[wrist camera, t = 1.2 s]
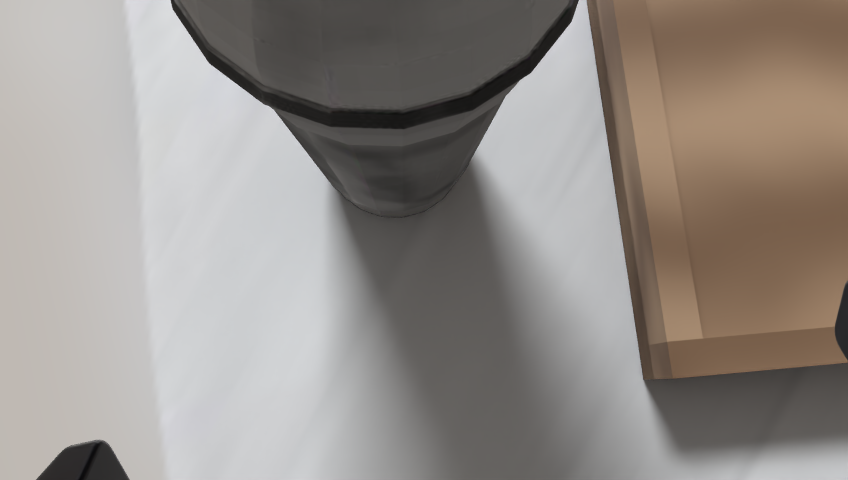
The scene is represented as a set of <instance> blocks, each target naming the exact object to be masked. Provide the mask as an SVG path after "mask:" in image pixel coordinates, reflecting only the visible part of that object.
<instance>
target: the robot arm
mask: <svg viewBox="0 0 848 480" xmlns="http://www.w3.org/2000/svg"><path fill="white" fill-rule="evenodd" d="M834 329H835V337H836V341H837V343H838V346H839V347H840V349H841V351H842V353H843V354H844V356H845V357H846V359H847V361H848V281H847V282H846V283H845V286H844V289H843V293H842V297H841V301H840V306H839V310H838V314H837V318H836V322H835V327H834ZM36 480H129V478H128V476H127V474H126V473H125V471H124V469H123V467H122V466H121V464H120V462H119V461H118V459H117V457H116V455H115V454H114V452H113V450H112V448H111V447H110V446H109V444H108V443H107V442H105V441H103V440H94V441H90V442H85V443H80V444H76V445H71V446H69V447H67V448H65V449H64V450H63V451H62V452H61V453H60V454H59V455H58V456H57V457H56V458H55V459H54V460H53V461H52V463H51V464H50V465H49V466H48V467H47V468H46V469H45V471H44V472H43V473H42V474H41V475H40V476H39V477H38V478H37V479H36Z"/></svg>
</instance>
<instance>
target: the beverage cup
mask: <svg viewBox="0 0 848 480" xmlns="http://www.w3.org/2000/svg"><path fill="white" fill-rule="evenodd" d="M578 1H579V0H171V4H172V8H173V10H174V12H175V13H176V15H177V16H178V18H179V19H180V21H181V22H182V24H183V25H184V27H185V28H186V30H187V31H188V32H189V34H190V35H191V37H192V38H193V40H194V41H195V43H196V44H197V46H198V47H199V49H200V50H201V52H202V53H203V55H204V56H205V58H206V59H207V61H208V62H209V63H210V64H211V65H212V66H214V67H215V68H216V69H218V70H219V71H220V72H222V73H223V74H224V75H226V76H227V77H228V78H230V79H231V80H232V81H234V82H235V83H236V84H238V85H239V86H240V87H242V88H243V89H244V90H246V91H247V92H248V93H250V94H251V95H252V96H254V97H255V98H256V99H258V100H259V101H260V102H262V103H263V104H265V105H268V106H270V107H271V108H272V109H274V110H275V112H276V113H277V114H278V116H279V117H280V118H281V119H282V121H283V122H284V123H285V125H286V126H287V127H288V129H289V130H290V131H291V132H292V134H293V135H294V136H295V138H296V139H297V140H298V141H299V143H300V144H301V145H302V147H303V148H304V149H305V151H306V152H307V153H308V154H309V156H310V157H311V158H312V160H313V161H314V162H315V163H316V165H317V166H318V167H319V169H320V170H321V171H322V173H323V174H324V175H325V176H326V178H327V179H328V180H329V182H330V183H331V184H332V185H333V187H334V188H336V189H337V190H338V191H340V192H341V193H342V195H343V196H344V197H345V198H347V199H348V200H349V201H351V202H352V203H353V204H354V205H356V206H357V207H358V208H360V209H361V210H364V211H367V212H370V213H373V214H376V215H379V216H382V217H406V216H409V215H413V214H416V213H420V212H423V211H426V210H427V209H429V208H430V207H432V206H433V205H435V204H436V203H438V202H439V201H441V200H442V199H443V198H444V197H445V196H446V194H447V193H448V192H449V191H450V189H451V188H452V187H453V185H454V184H455V183H456V181H457V180H458V179H459V177H460V176H461V175H462V174H463V172H464V171H465V169H466V168H467V166H468V164H469V162H470V160H471V158H472V157H473V155H474V153H475V151H476V149H477V147H478V146H479V144H480V142H481V140H482V138H483V137H484V135H485V133H486V131H487V129H488V127H489V126H490V124H491V122H492V120H493V118H494V116H495V115H496V113H497V111H498V109H499V107H500V105H501V104H502V102H503V100H504V98H505V96H506V95H507V94H508V93H509V92H510V91H511V90H512V89H513V88H514V87H515V85H516V84H517V83H518V82H519V80H521V79H522V78H524V77H525V76H527V75H528V74H530V73H531V72H532V71H533V70H534V68H535V67H536V66H537V65H538V63H539V62H540V61H541V59H542V58H543V57H544V56H545V54H546V53H547V52H548V51H549V49H550V48H551V47H552V46H553V44H554V43H555V42H556V41H557V39H558V38H559V37H560V35H561V34H562V33H563V32H564V30H565V29H566V28H567V27H568V25H569V24H570V23H571V22H572V19H573V16H574V13H575V10H576V7H577V4H578Z"/></svg>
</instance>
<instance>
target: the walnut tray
mask: <svg viewBox="0 0 848 480" xmlns="http://www.w3.org/2000/svg"><path fill="white" fill-rule="evenodd" d="M587 5H588V12H589V19H590V25H591V32H592V39H593V45H594V52H595V59H596V65H597V72H598V79H599V85H600V92H601V99H602V105H603V112H604V119H605V125H606V132H607V139H608V145H609V152H610V159H611V165H612V172H613V179H614V185H615V192H616V199H617V205H618V212H619V219H620V225H621V232H622V239H623V245H624V252H625V259H626V265H627V272H628V279H629V285H630V292H631V299H632V305H633V312H634V319H635V325H636V332H637V339H638V346H639V352H640V359H641V366H642V372H643V379H644V380H649V379H675V378H686V377H696V376H707V375H718V374H729V373H740V372H751V371H762V370H773V369H783V368H794V367H805V366H816V365H827V364H838V363H848V361H847V359H846V357H845V356H844V354H843V353H842V351H841V349H840V347H839V346H838V343H837V341H836V337H835V329H834V327H835V322H836V318H837V314H838V310H839V306H840V301H841V297H842V293H843V289H844V286H845V283H846V282H847V281H848V0H587Z"/></svg>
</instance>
